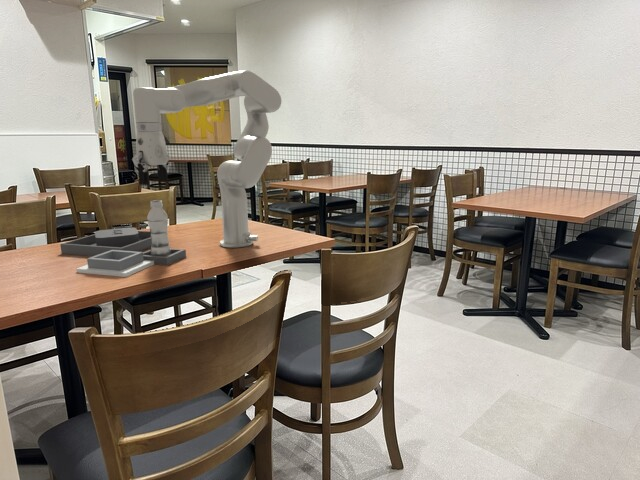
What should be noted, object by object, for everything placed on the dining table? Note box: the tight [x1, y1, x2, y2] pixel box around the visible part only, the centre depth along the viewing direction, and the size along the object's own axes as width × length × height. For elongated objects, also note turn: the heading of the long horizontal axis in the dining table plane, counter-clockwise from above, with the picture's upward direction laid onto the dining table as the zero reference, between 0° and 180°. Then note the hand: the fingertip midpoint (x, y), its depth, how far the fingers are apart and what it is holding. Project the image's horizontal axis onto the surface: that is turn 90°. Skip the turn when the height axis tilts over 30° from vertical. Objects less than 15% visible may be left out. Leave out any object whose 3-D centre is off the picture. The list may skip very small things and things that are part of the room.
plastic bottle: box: [146, 199, 172, 257], centre depth 148 cm, size 6×7×20 cm
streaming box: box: [94, 227, 139, 248], centre depth 167 cm, size 14×14×5 cm
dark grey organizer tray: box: [59, 230, 152, 257], centre depth 167 cm, size 26×26×4 cm
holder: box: [142, 248, 187, 266], centre depth 150 cm, size 12×11×2 cm
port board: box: [76, 250, 155, 278], centre depth 141 cm, size 18×14×4 cm
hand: (154, 183), depth 144 cm, fingers open, 9 cm apart
